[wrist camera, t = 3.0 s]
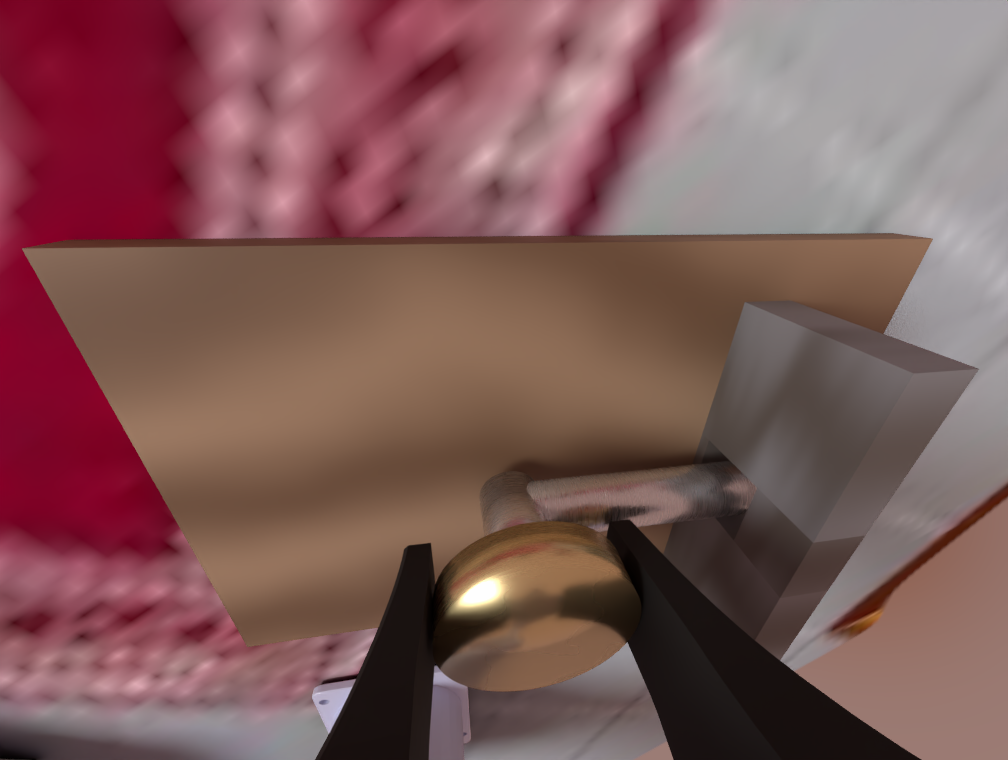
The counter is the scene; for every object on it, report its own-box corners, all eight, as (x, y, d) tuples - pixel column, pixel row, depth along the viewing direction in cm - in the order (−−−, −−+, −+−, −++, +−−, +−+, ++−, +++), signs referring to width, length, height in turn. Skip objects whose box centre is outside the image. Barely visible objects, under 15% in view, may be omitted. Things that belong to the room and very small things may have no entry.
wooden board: (742, 550, 20) (847, 680, 15) (259, 617, 17) (180, 814, 12) (892, 233, 13) (1205, 275, 8) (68, 240, 9) (-394, 325, 4)
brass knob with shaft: (757, 510, 16) (869, 628, 12) (439, 549, 14) (440, 705, 10) (804, 408, 13) (966, 512, 9) (427, 438, 12) (423, 585, 7)
